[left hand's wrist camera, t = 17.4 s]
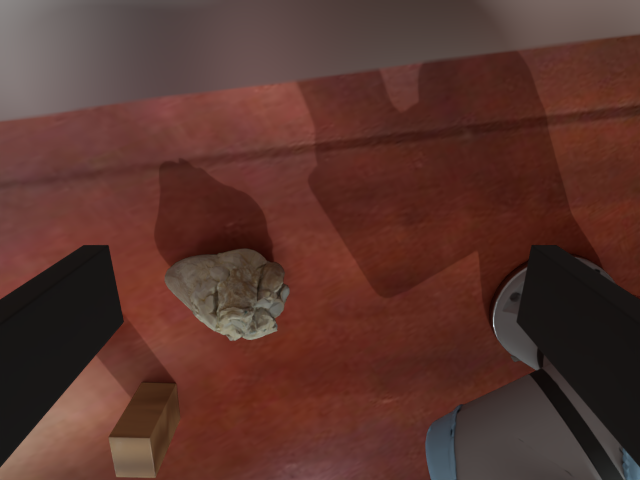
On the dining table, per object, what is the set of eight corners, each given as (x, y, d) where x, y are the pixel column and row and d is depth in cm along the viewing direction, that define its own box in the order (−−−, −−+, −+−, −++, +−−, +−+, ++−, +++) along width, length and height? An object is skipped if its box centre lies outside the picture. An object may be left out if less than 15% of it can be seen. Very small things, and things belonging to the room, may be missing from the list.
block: (141, 382, 56) (108, 437, 47) (176, 383, 56) (149, 438, 47) (147, 418, 58) (116, 477, 49) (180, 419, 58) (155, 477, 49)
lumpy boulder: (176, 221, 49) (287, 231, 44) (208, 283, 56) (306, 297, 51) (116, 291, 41) (243, 312, 36) (162, 351, 49) (273, 376, 44)
